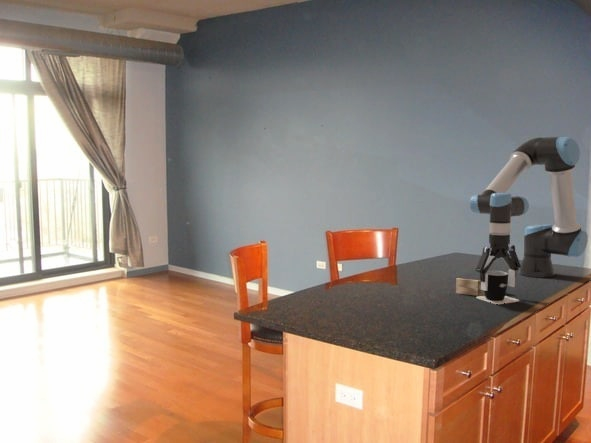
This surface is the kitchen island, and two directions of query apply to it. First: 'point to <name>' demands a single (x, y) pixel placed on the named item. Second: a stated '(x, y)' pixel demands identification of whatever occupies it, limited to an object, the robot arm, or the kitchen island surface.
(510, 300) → the plate
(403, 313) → the kitchen island surface
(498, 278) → the mug
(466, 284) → the wooden boomerang
